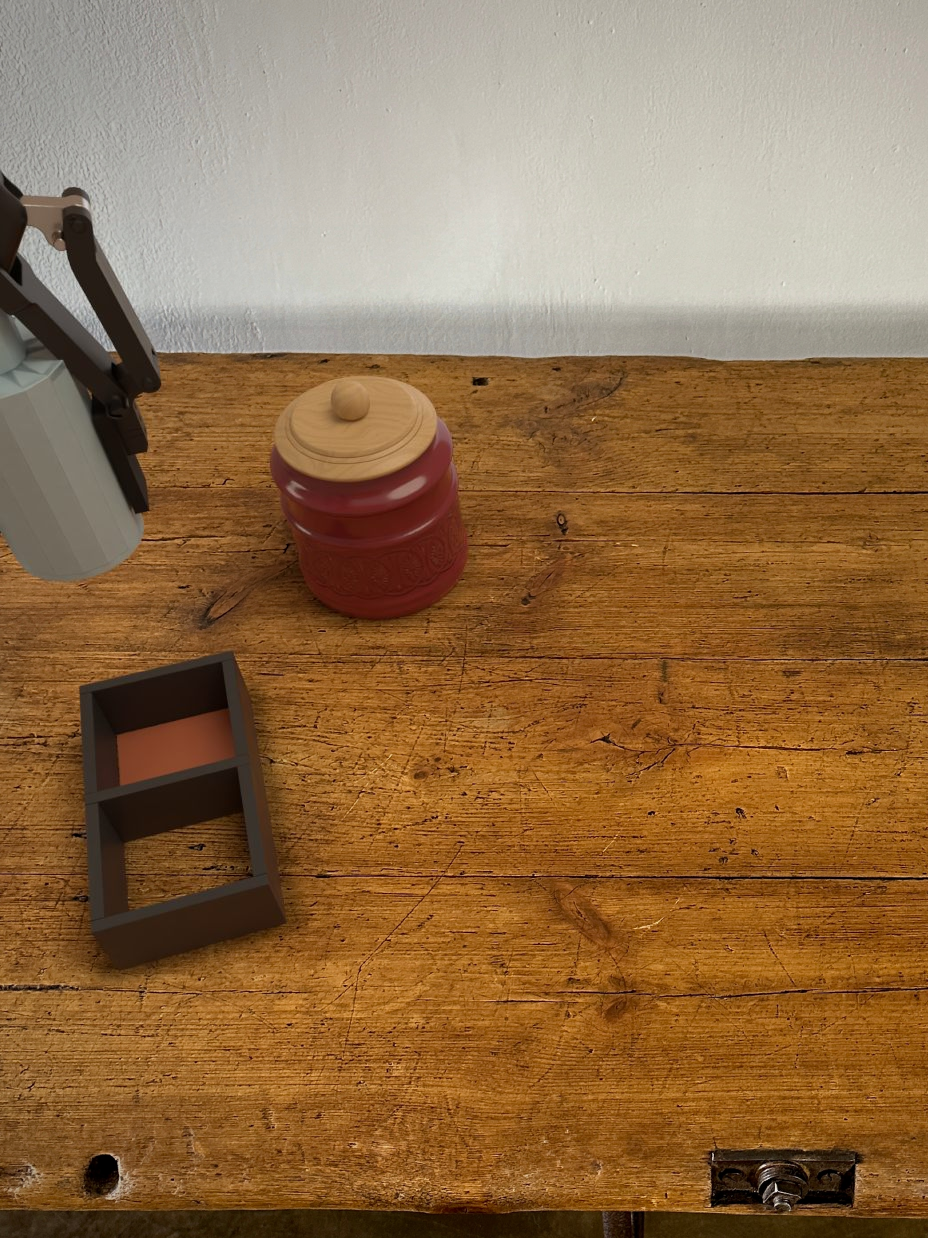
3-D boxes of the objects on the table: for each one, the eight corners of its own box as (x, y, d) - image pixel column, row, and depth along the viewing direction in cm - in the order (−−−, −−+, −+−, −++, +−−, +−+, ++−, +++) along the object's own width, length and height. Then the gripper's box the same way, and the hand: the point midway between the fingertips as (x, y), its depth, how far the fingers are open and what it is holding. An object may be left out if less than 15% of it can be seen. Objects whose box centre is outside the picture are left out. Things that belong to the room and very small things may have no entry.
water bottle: (-9, 571, 66) (-160, 316, 53) (57, 489, 70) (-69, 236, 58) (106, 591, 65) (-20, 337, 53) (166, 507, 69) (62, 254, 57)
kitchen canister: (272, 600, 93) (209, 418, 80) (358, 495, 101) (314, 312, 87) (422, 647, 91) (384, 467, 77) (498, 535, 98) (475, 353, 85)
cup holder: (107, 735, 85) (78, 685, 81) (252, 700, 87) (232, 649, 83) (123, 976, 73) (90, 933, 69) (289, 928, 76) (268, 883, 71)
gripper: (-452, 169, 44) (-136, 602, 61) (121, 92, 48) (262, 517, 66) (-410, 79, 48) (-127, 506, 66) (110, 16, 53) (245, 433, 70)
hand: (67, 511), depth 66 cm, fingers closed on water bottle, 7 cm apart
